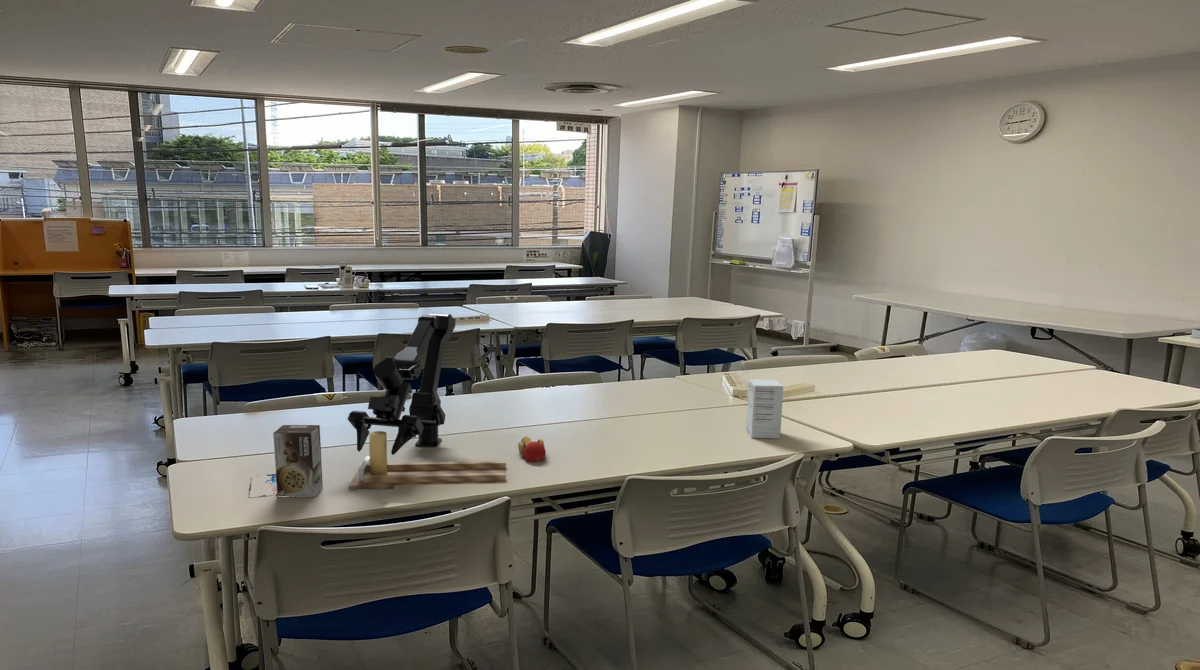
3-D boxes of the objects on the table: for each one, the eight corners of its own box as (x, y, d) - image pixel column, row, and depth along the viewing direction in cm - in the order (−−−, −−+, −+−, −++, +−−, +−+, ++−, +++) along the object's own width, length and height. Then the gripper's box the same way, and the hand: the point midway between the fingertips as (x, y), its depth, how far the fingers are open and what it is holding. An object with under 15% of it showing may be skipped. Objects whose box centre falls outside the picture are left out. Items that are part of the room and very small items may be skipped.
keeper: (382, 471, 194) (381, 430, 192) (390, 475, 191) (389, 434, 189) (367, 474, 191) (366, 433, 190) (374, 479, 188) (373, 437, 187)
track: (505, 467, 202) (505, 458, 202) (505, 486, 188) (505, 477, 188) (360, 470, 198) (359, 461, 197) (348, 489, 184) (348, 480, 184)
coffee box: (323, 487, 185) (321, 424, 182) (314, 497, 179) (312, 432, 176) (286, 487, 185) (283, 423, 182) (275, 497, 178) (272, 431, 175)
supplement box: (780, 439, 234) (784, 386, 231) (751, 438, 234) (754, 385, 231) (773, 430, 243) (776, 379, 240) (745, 429, 243) (748, 378, 240)
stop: (371, 468, 196) (371, 455, 195) (364, 483, 186) (363, 469, 185) (366, 468, 196) (366, 455, 195) (359, 483, 186) (358, 469, 185)
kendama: (510, 451, 220) (520, 463, 203) (513, 430, 220) (524, 440, 203) (535, 454, 222) (548, 467, 205) (539, 433, 222) (552, 444, 205)
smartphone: (247, 497, 177) (250, 476, 191) (247, 500, 177) (250, 478, 191) (282, 493, 180) (282, 472, 194) (282, 496, 180) (283, 474, 194)
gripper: (349, 380, 193) (328, 434, 184) (418, 385, 189) (399, 440, 181) (366, 402, 202) (345, 454, 193) (431, 407, 198) (413, 461, 190)
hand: (375, 452), depth 189 cm, fingers open, 9 cm apart
